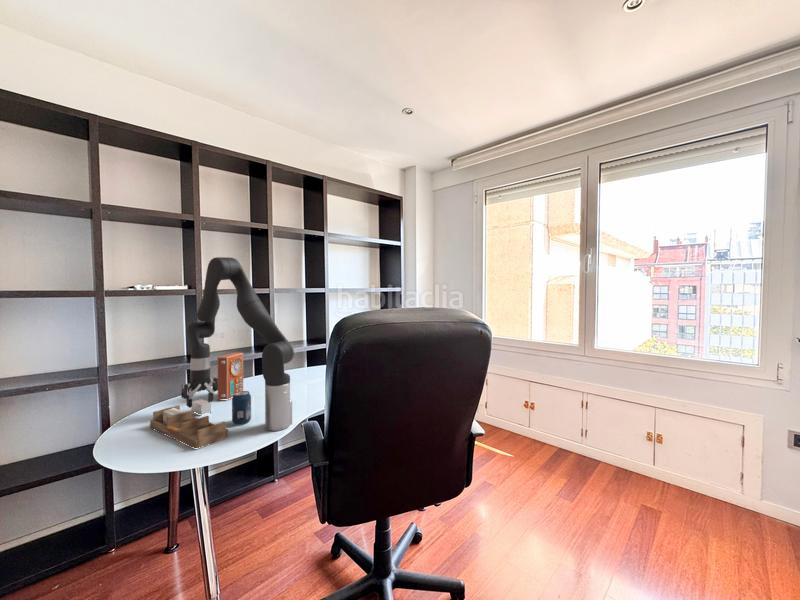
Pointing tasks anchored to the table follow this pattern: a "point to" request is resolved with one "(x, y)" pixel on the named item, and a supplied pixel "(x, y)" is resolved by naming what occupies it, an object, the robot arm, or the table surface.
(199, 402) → the white rectangular block
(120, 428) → the table surface
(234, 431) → the table surface
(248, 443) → the table surface
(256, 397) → the table surface
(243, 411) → the soda can
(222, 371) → the control panel
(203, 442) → the rack
